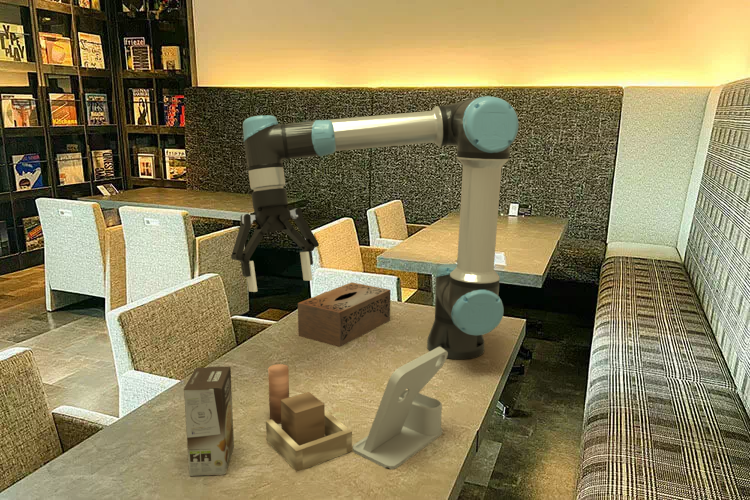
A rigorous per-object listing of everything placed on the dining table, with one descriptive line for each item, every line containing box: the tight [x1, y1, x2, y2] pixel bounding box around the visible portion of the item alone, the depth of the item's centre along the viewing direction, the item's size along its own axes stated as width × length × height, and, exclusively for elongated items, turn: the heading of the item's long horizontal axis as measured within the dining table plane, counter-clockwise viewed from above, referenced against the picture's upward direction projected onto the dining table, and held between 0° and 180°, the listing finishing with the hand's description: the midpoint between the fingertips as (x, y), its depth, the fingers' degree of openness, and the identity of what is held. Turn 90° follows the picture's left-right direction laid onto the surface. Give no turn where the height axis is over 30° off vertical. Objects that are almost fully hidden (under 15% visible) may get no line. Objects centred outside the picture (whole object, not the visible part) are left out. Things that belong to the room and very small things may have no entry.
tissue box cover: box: [297, 281, 391, 348], centre depth 167 cm, size 26×14×10 cm, turn 147°
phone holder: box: [352, 347, 448, 470], centre depth 107 cm, size 17×10×18 cm, turn 140°
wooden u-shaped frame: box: [265, 409, 353, 473], centre depth 107 cm, size 12×11×4 cm
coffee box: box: [183, 366, 235, 477], centre depth 100 cm, size 9×6×16 cm
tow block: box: [267, 363, 326, 446], centre depth 111 cm, size 15×6×11 cm, turn 35°
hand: (281, 285), depth 126 cm, fingers open, 13 cm apart
